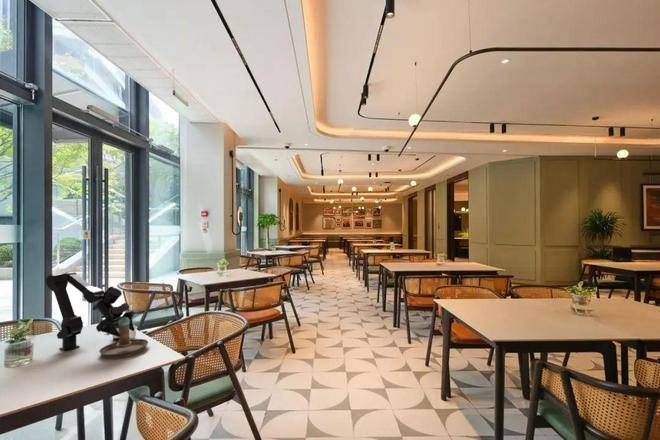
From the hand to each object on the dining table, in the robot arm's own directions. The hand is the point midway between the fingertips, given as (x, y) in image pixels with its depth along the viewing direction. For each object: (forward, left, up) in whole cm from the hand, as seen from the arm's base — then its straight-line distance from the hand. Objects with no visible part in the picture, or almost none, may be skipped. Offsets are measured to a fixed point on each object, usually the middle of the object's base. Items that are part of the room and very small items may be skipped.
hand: (126, 333), depth 167 cm
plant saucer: (-1, 0, -10) cm, 10 cm away
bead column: (-1, 0, -6) cm, 6 cm away
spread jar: (-22, +12, -9) cm, 27 cm away
